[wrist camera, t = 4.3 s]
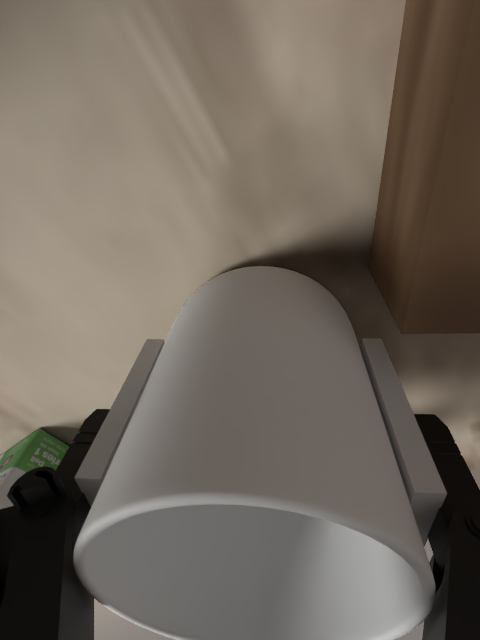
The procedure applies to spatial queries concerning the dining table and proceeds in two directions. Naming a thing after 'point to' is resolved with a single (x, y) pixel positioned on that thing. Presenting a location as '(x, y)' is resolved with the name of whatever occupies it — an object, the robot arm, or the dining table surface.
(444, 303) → the walnut block
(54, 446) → the ink box
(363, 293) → the dining table surface
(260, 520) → the mug
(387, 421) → the robot arm
